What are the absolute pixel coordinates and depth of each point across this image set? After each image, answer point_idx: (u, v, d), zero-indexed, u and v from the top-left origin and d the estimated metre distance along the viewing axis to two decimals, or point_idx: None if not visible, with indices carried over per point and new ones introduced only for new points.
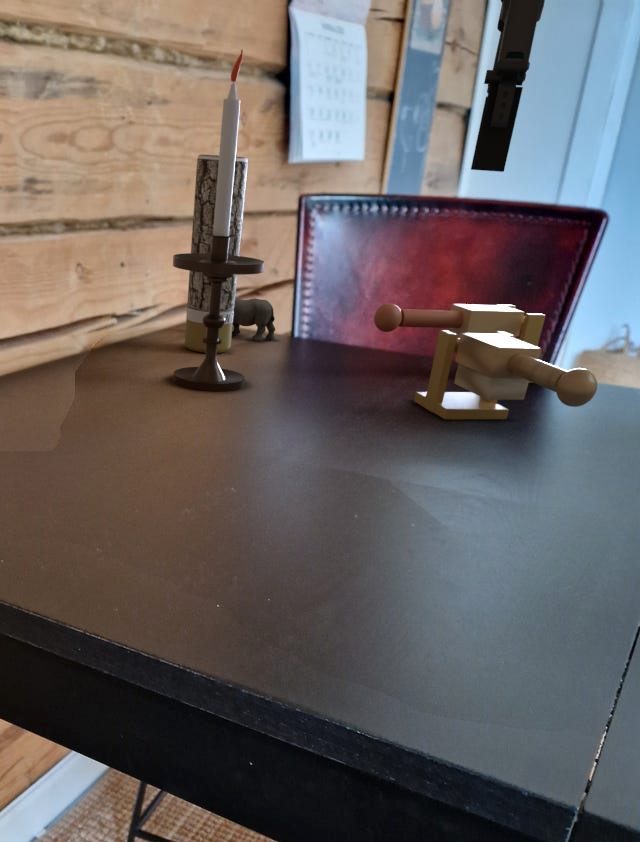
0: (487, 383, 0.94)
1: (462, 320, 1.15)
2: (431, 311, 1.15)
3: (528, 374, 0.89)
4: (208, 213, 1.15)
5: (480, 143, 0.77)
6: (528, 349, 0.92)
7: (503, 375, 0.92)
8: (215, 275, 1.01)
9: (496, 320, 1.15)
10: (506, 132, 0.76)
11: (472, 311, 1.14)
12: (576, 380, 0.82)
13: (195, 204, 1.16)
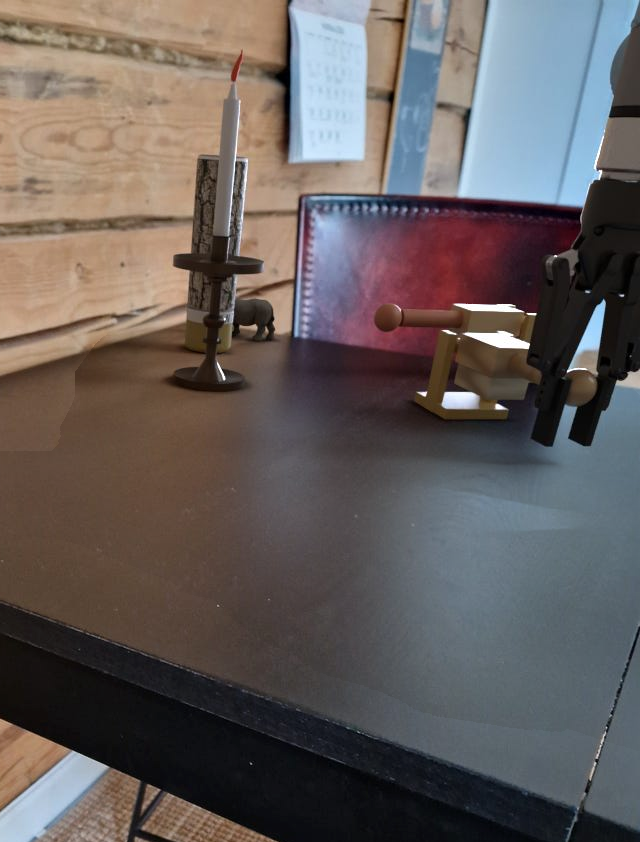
0: (487, 383, 0.94)
1: (462, 320, 1.15)
2: (431, 311, 1.15)
3: (528, 374, 0.89)
4: (208, 213, 1.15)
5: (537, 418, 0.85)
6: None
7: (503, 375, 0.92)
8: (215, 275, 1.01)
9: (496, 320, 1.15)
10: (551, 414, 0.83)
11: (472, 311, 1.14)
12: (576, 380, 0.82)
13: (195, 204, 1.16)
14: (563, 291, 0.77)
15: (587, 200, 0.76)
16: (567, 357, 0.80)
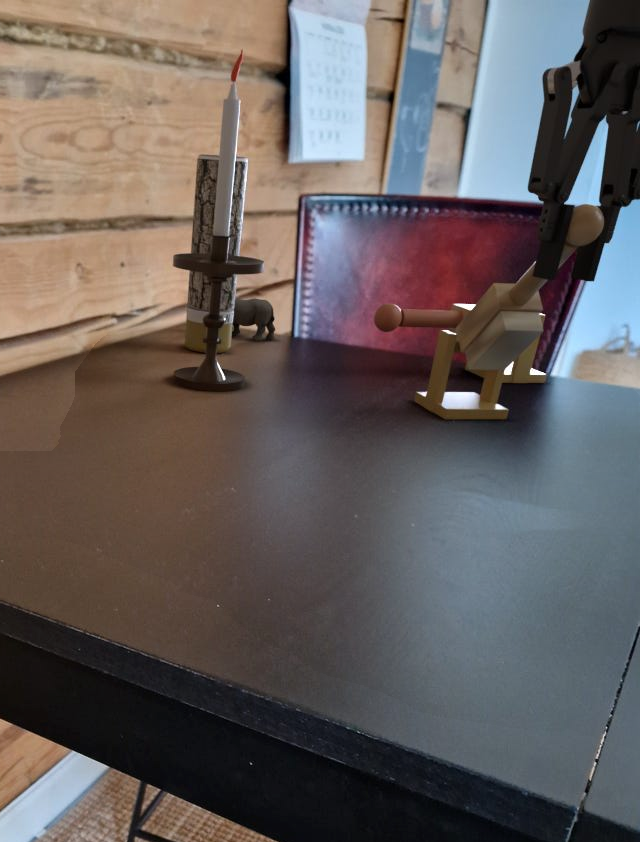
0: (498, 320, 0.91)
1: None
2: (431, 311, 1.15)
3: (532, 272, 0.87)
4: (208, 213, 1.15)
5: (538, 253, 0.84)
6: None
7: (510, 306, 0.91)
8: (215, 275, 1.01)
9: None
10: (553, 244, 0.82)
11: None
12: (578, 208, 0.80)
13: (195, 204, 1.16)
14: (565, 104, 0.75)
15: (589, 8, 0.74)
16: (569, 179, 0.79)
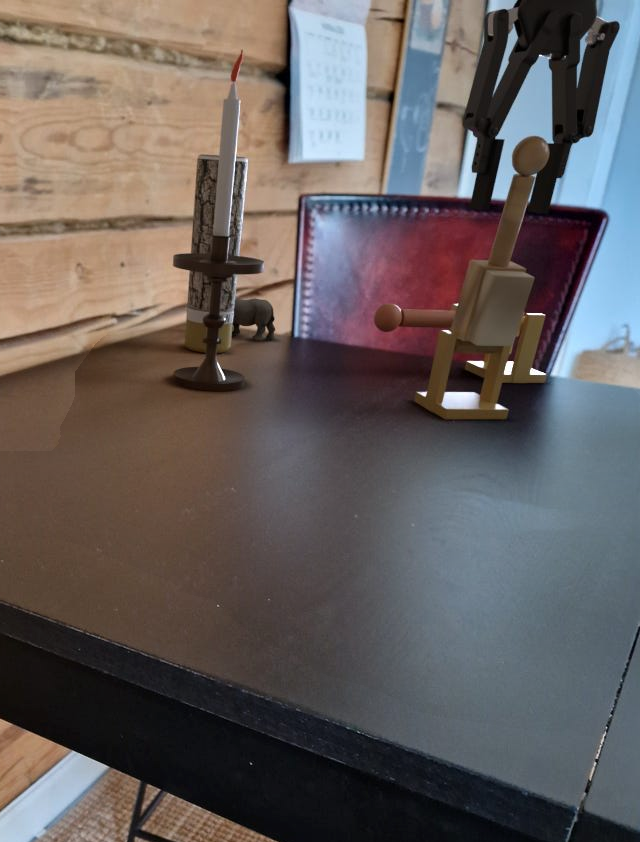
0: (487, 278, 0.93)
1: None
2: (431, 311, 1.15)
3: (502, 224, 0.92)
4: (208, 213, 1.15)
5: (474, 186, 0.91)
6: None
7: (494, 266, 0.93)
8: (215, 275, 1.01)
9: None
10: (487, 177, 0.89)
11: None
12: (519, 142, 0.88)
13: (195, 204, 1.16)
14: (501, 45, 0.83)
15: None
16: (501, 116, 0.86)
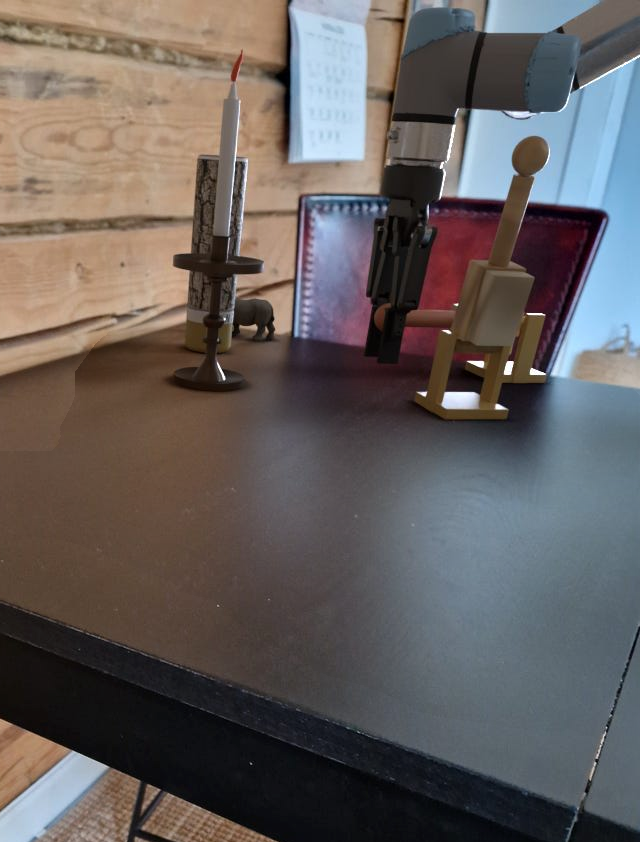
0: (487, 278, 0.93)
1: None
2: (431, 311, 1.15)
3: (502, 224, 0.92)
4: (208, 213, 1.15)
5: (383, 347, 1.14)
6: None
7: (494, 266, 0.93)
8: (215, 275, 1.01)
9: None
10: (398, 340, 1.14)
11: None
12: (519, 142, 0.88)
13: (195, 204, 1.16)
14: None
15: (416, 182, 1.03)
16: None
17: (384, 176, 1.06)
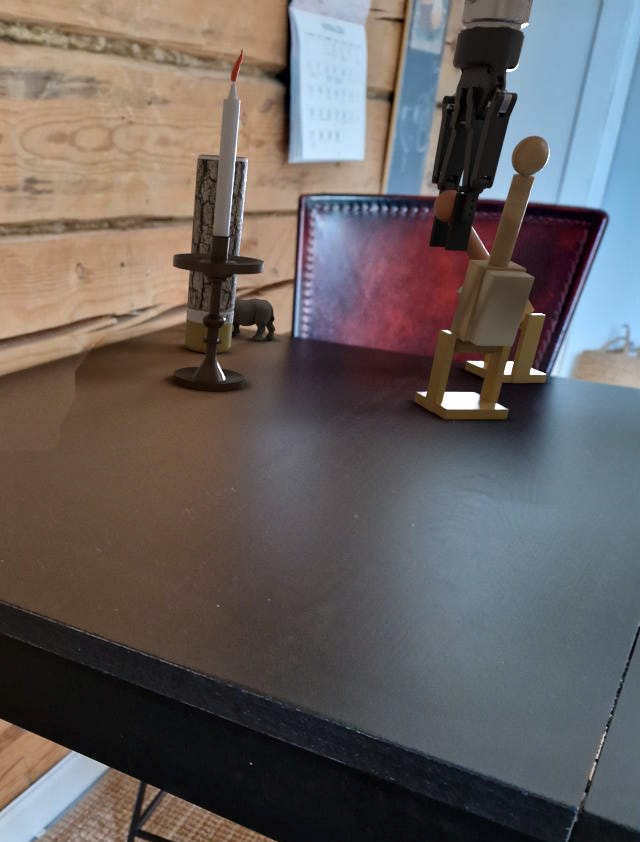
0: (487, 278, 0.93)
1: None
2: (478, 237, 1.11)
3: (502, 224, 0.92)
4: (208, 213, 1.15)
5: (452, 232, 1.08)
6: None
7: (494, 266, 0.93)
8: (215, 275, 1.01)
9: None
10: (468, 224, 1.08)
11: None
12: (519, 142, 0.88)
13: (195, 204, 1.16)
14: None
15: (495, 45, 0.97)
16: None
17: (459, 42, 1.00)
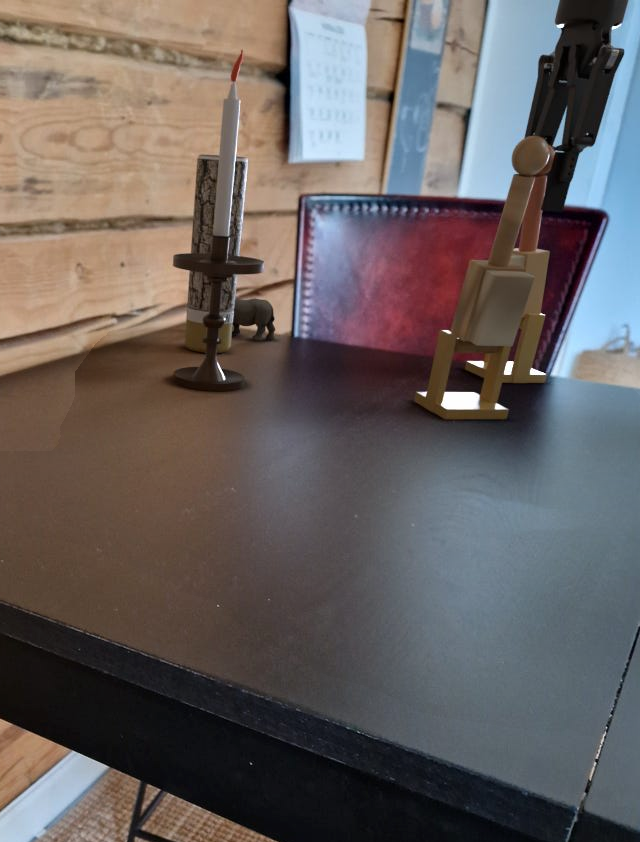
0: (487, 278, 0.93)
1: (533, 250, 1.13)
2: (541, 211, 1.11)
3: (502, 224, 0.92)
4: (208, 213, 1.15)
5: (549, 192, 1.08)
6: None
7: (494, 266, 0.93)
8: (215, 275, 1.01)
9: (536, 284, 1.14)
10: (566, 184, 1.08)
11: (548, 252, 1.12)
12: (519, 142, 0.88)
13: (195, 204, 1.16)
14: None
15: (602, 1, 0.97)
16: None
17: None
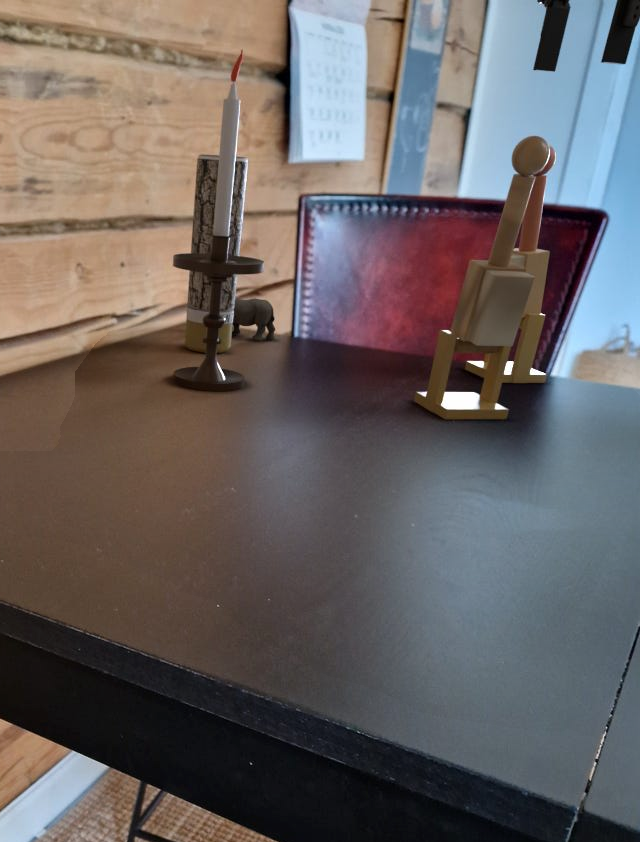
0: (487, 278, 0.93)
1: (533, 250, 1.13)
2: (541, 211, 1.11)
3: (502, 224, 0.92)
4: (208, 213, 1.15)
5: (612, 39, 0.96)
6: None
7: (494, 266, 0.93)
8: (215, 275, 1.01)
9: (536, 284, 1.14)
10: (630, 31, 0.96)
11: (548, 252, 1.12)
12: (519, 142, 0.88)
13: (195, 204, 1.16)
14: None
15: None
16: None
17: None
